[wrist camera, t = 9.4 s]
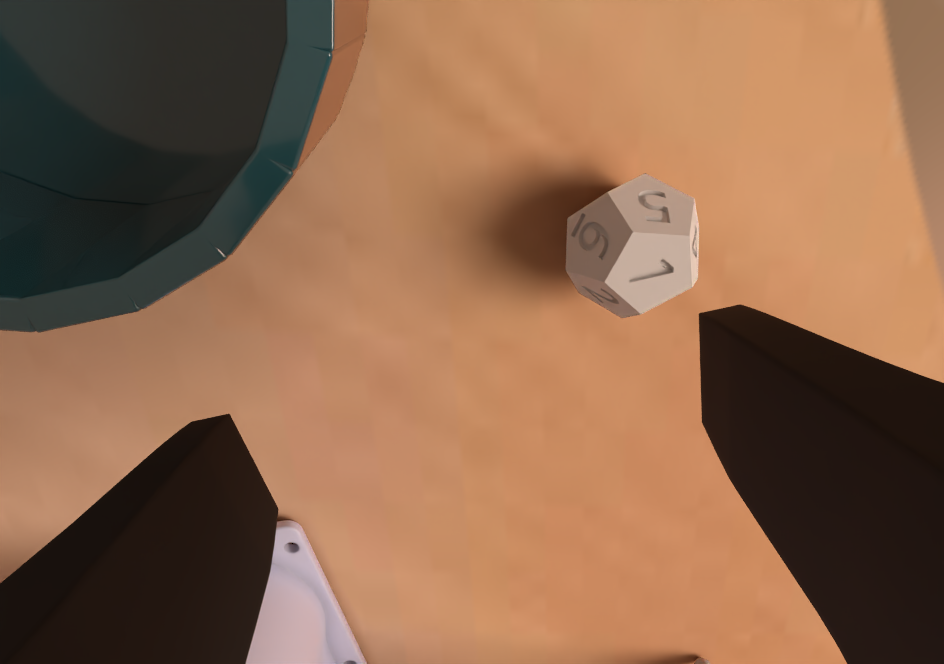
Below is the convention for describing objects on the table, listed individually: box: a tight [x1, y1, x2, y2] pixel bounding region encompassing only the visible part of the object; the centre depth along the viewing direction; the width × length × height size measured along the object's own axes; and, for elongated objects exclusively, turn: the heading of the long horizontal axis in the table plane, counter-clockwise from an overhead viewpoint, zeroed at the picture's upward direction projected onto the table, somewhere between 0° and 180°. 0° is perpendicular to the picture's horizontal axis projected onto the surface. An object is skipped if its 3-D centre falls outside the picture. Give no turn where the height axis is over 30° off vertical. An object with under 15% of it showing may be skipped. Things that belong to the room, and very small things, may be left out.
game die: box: [566, 173, 699, 318], centre depth 16 cm, size 4×4×3 cm
